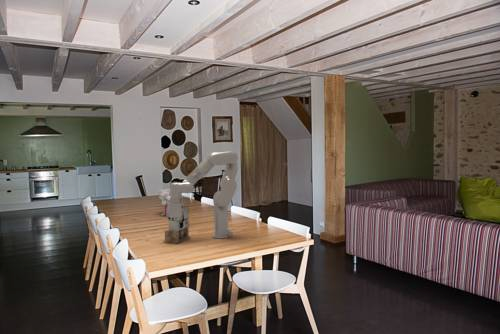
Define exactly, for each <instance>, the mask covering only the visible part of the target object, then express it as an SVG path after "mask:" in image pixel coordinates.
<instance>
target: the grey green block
mask: <svg viewBox="0 0 500 334" xmlns="http://www.w3.org/2000/svg"><path fill="white" fill-rule="evenodd" d="M184 228H185V220H184V222H183V228H180V219H175V218H174V220H172V221H170V220H169V221H168V230H169V231H179V230H181V229H184Z"/></svg>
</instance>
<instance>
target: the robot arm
mask: <svg viewBox="0 0 500 334" xmlns="http://www.w3.org/2000/svg"><path fill="white" fill-rule="evenodd" d="M238 156H239V155H238V153H237V152H235V151H234V150H226V151H221V152H216V151H215V152H212V151H211V152H210V153H208V154H207V155H206V156H205V157H204V159H202V161H200V162H199V164H198V165H197V166H195V168H194V169H193V170H192V171H191V172H190V173H189V174H188V175H187V176H186V177H185V179H183V181H182V182H177V181H176V182H171V183H170V184H169V189H170V201H171V203H170V205H169V213H168V214H167V215H166V216H165V217H166V218H167V219H168V220H169V221H172V220H175V218H179V219H180V228H183V222H184V220H185V219H186V218H187V216H186V214H185V209H184V206H185V205H184V199H183V195H182V194H191V193H192V192H193V191H194V189H195V187H194V185H195V184H197V182H198V181H199V180H201V179H203V178H205V177H206V176H207V175H208V174H209V173H210V172H211V171H212V170H213V168H214V167H216V166H223V165H224V166H225V169H224V171H223V172H224V173H223V175H222V177H221V180H220V182H219V186H220V188H221V189H220V190H218V191H216V192H215V193H214V194H213V200H212V203H213V212H214V213H213V217H214V219H213V221H214V223H213V225H214V228H213V229H214V233H213V234H212V238H214V239H227V238H230V237H231V236H233V235H234V231H230V228H229V208H228V207H229V206H230V205H231V202H232V200H233V197H234V196H235V193H236V190H237V181H236V177H237V173H238V170H239V164H238V159H239V157H238ZM183 217H184V218H183Z"/></svg>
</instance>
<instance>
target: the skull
mask: <svg viewBox="0 0 500 334" xmlns="http://www.w3.org/2000/svg"><path fill="white" fill-rule="evenodd" d="M157 192H158V198H159V200H160V202H161V205H162V206H163V213H162V214H161V216H164V217H166V215H167V214H168V213H169V205H170V203H171V201H170V188H162V189H161V188H160V189H158V191H157Z"/></svg>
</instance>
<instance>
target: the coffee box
mask: <svg viewBox="0 0 500 334" xmlns="http://www.w3.org/2000/svg"><path fill="white" fill-rule="evenodd" d="M184 209H185V214H186V216H187V218H186V219H185V226H186V227H188V228H189V226H190V224H189V223H190V222H189V216H190V215H189V206H188V205H184ZM183 218H184V217H183ZM175 219H179V218H174V220H175Z"/></svg>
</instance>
